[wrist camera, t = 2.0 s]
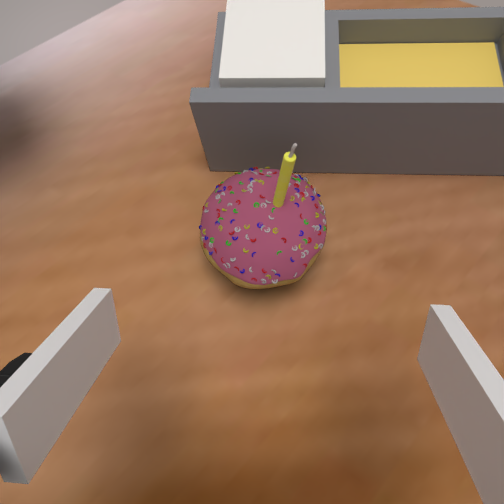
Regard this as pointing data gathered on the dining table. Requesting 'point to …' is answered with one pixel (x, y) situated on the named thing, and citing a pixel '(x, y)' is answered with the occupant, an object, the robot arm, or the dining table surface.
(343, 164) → the tray
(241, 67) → the blank block
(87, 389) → the robot arm
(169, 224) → the dining table surface
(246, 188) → the cupcake
